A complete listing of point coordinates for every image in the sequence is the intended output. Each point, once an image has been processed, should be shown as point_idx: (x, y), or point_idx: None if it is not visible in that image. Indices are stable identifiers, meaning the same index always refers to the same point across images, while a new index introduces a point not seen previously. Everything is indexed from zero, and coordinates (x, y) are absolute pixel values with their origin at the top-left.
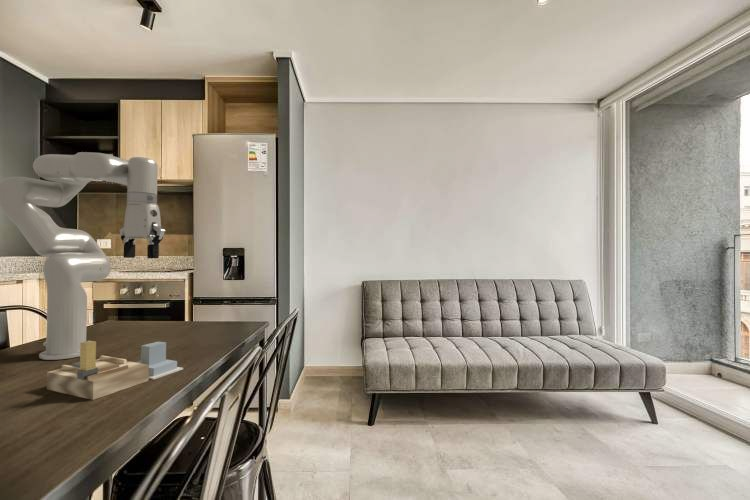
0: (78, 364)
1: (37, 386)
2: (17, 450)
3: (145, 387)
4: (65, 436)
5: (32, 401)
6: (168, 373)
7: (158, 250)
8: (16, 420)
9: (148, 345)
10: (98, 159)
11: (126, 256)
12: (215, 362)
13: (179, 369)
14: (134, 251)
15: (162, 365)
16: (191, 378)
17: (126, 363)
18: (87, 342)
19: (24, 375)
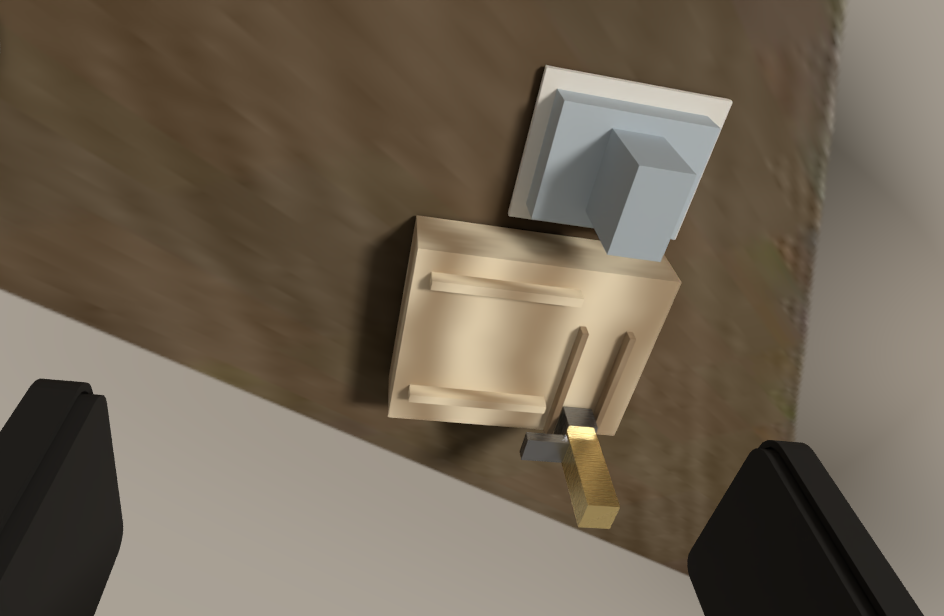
0: (550, 460)
1: (321, 361)
2: (639, 544)
3: (683, 290)
4: (682, 505)
5: (439, 430)
6: (700, 177)
7: (890, 576)
8: (518, 491)
9: (640, 245)
10: None
11: (117, 539)
12: None
13: (722, 121)
14: (46, 516)
15: (687, 199)
16: (807, 181)
17: (582, 291)
18: (601, 521)
19: (133, 302)
